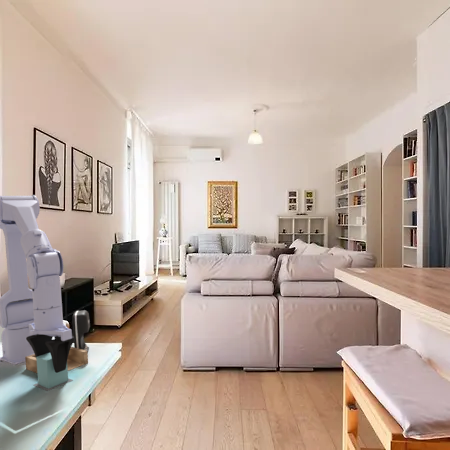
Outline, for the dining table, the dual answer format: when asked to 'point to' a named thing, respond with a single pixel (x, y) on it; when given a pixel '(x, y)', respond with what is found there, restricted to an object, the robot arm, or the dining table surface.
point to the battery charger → (80, 328)
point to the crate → (74, 359)
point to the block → (49, 372)
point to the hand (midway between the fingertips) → (52, 368)
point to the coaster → (51, 387)
